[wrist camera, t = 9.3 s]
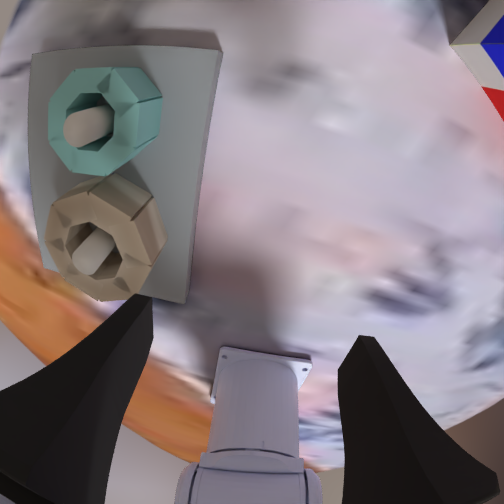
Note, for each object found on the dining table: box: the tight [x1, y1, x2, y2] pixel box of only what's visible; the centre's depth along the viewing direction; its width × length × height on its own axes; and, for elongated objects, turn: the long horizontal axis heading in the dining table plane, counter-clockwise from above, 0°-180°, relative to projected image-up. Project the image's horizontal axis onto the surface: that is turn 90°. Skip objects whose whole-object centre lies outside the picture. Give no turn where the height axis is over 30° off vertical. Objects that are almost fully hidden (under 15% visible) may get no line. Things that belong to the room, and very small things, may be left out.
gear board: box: [28, 45, 223, 304], centre depth 15 cm, size 16×12×6 cm
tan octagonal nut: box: [44, 172, 168, 302], centre depth 17 cm, size 7×7×3 cm
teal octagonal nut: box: [48, 67, 163, 176], centre depth 13 cm, size 5×5×3 cm
